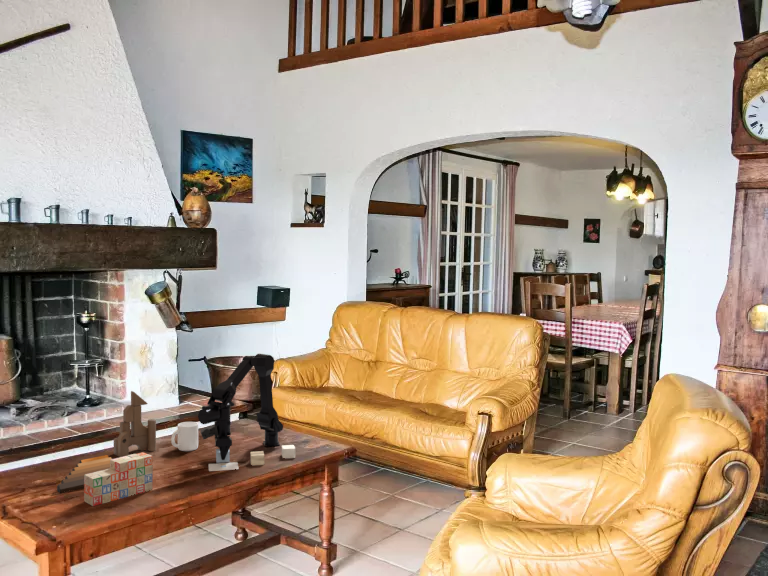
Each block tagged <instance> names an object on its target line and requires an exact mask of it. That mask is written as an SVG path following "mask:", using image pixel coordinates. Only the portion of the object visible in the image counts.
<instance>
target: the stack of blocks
mask: <svg viewBox="0 0 768 576" xmlns="http://www.w3.org/2000/svg"><path fill="white" fill-rule="evenodd" d="M153 465H154V464H153V455H151V454H148V453H146V452H142V451H141V452H139V453H133V454H132V453H131V454H129V455H127V456H124V457H116V458H112V459H111V460H110V469H106V470H102V471H97V472H94V473H89V474H85V475H84V488H83V496H84V497H83V499H84V502H85V503H87V504H88V505H90V506H91V507H95V506H99V505H103V504H106V503H110V502H114V501H117V499H118V500H120V498H121V499H124V497H125V498H128V497H131V495H132V496H134V494H135V495H138V493H139V494H142V492H143V493H146V492H149V490H150V491H152V490H154V489H153V475H154V474H153V473H154V466H153ZM151 489H152V490H151ZM145 491H146V492H145Z"/></svg>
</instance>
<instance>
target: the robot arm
mask: <svg viewBox="0 0 768 576" xmlns="http://www.w3.org/2000/svg"><path fill="white" fill-rule="evenodd" d="M253 367H254V370H255V373H256V374H257V375H258V380H259V383H258V384H259V394H260V407H261V408H260V410H259V412H256V419H257V420H256V422H257V423H258V426H259V427H260V430H262V431H263V430H264V440H263V441H262V443H263V446H264V447H276V446H280V445H281V443H280V441H279V433H280V432H282V431H283V430H284V424H283V423H282V422H281V421H280V419H279V415H278V412H277V410H276V409H275V407H274V401H273V399H274V398H273V389H272V388H273V386H272V375H271V374H272V373H273V370H274V369H275V358H274V356H272V355H270V354H265V353H257V354H255V355H245V356H243V357H242V360H241V361H240V363H239V364H238V365H237V367H236V368H235V369H234V370H233V371H232V373H231V374H230V375H229V376H228V378H226V380H224V381H222V382H220V383H219V384H217V386H215V387H214V388H213V390H212V393H211V395H210V398H209V399H208V401H207V403H206V404H207V405H202V406H201V409H200V410H199V412H198V415H197V418H198V421H199V422H200V424H202V425H207V424H211V423H213V424H211V425H208V426H205V427H203V428H201V429H199V431H200V434H201V437H202V440H206V439H208V438H210V437H213V436H214V440H215V441H214V446H215V447H217V449H220V454H221V459H222V460H225V457H226V455H227V453H228V450H229V451H230V448H231V447H232V446H233V439H232V437H231V424H232V423H231V407H234V406H235V403H234V402H232V400H233V398H234V397H235V395H236V393H237V388H238V386H239V385H240V384H241V382H242V381H243V380H244V378H246V376H247V375H248V374H249V372H250V371H251V370H252V369H253Z"/></svg>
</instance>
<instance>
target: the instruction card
mask: <svg viewBox="0 0 768 576" xmlns="http://www.w3.org/2000/svg"><path fill="white" fill-rule="evenodd" d="M235 469H236V470H239V469H240V468H239V463H238V461H236V462H233V461H232V462H221V463H208V472H216V471H219V472H220V471H232V470H233V471H234V470H235Z"/></svg>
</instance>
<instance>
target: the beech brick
mask: <svg viewBox="0 0 768 576" xmlns="http://www.w3.org/2000/svg"><path fill="white" fill-rule="evenodd" d="M249 462H250V466H251V465H252V466H264V465H265V453H264V450H261V451H250V461H249Z"/></svg>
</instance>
